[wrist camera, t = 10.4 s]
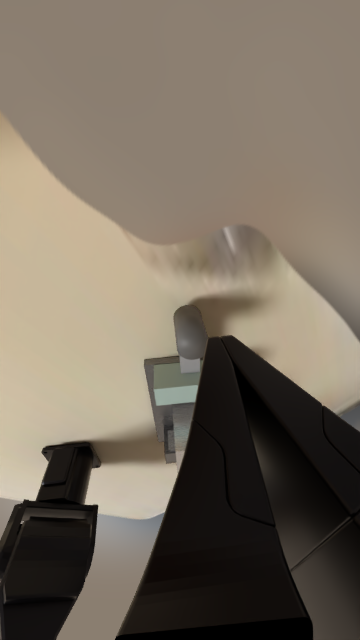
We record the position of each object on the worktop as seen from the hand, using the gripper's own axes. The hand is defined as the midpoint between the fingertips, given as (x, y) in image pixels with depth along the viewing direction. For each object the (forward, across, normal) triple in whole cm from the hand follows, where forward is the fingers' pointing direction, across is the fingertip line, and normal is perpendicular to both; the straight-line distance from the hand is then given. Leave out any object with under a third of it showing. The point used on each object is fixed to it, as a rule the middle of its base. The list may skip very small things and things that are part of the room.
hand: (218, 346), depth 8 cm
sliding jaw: (+11, 0, +9) cm, 14 cm away
